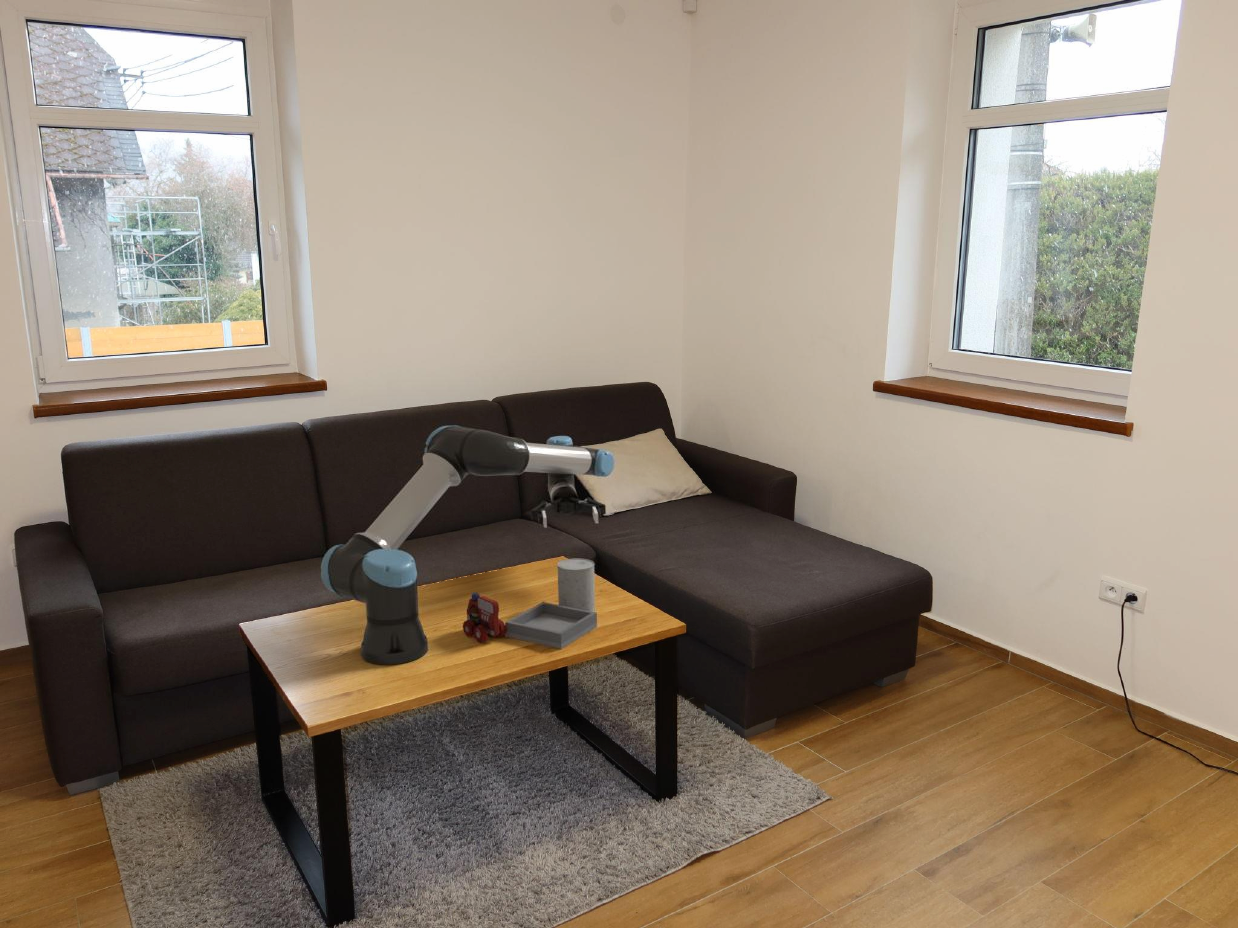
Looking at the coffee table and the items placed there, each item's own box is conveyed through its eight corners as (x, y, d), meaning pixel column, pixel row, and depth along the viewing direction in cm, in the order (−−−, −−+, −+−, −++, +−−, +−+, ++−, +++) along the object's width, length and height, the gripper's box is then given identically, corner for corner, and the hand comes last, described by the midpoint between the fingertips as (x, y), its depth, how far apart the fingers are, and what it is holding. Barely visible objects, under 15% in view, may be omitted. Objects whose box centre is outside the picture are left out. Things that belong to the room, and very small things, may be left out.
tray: (505, 636, 234) (505, 621, 233) (543, 615, 247) (542, 601, 247) (561, 649, 226) (561, 634, 225) (597, 626, 239) (596, 612, 239)
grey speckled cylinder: (594, 615, 247) (593, 569, 244) (556, 615, 247) (555, 569, 244) (596, 602, 256) (595, 558, 254) (559, 602, 256) (558, 558, 254)
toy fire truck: (482, 625, 241) (480, 585, 239) (510, 639, 232) (509, 598, 230) (458, 632, 237) (456, 591, 235) (485, 647, 228) (484, 605, 226)
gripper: (608, 507, 278) (618, 530, 258) (521, 514, 275) (524, 538, 255) (607, 482, 276) (617, 503, 256) (519, 489, 273) (522, 510, 253)
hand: (571, 520), depth 255 cm, fingers open, 13 cm apart
